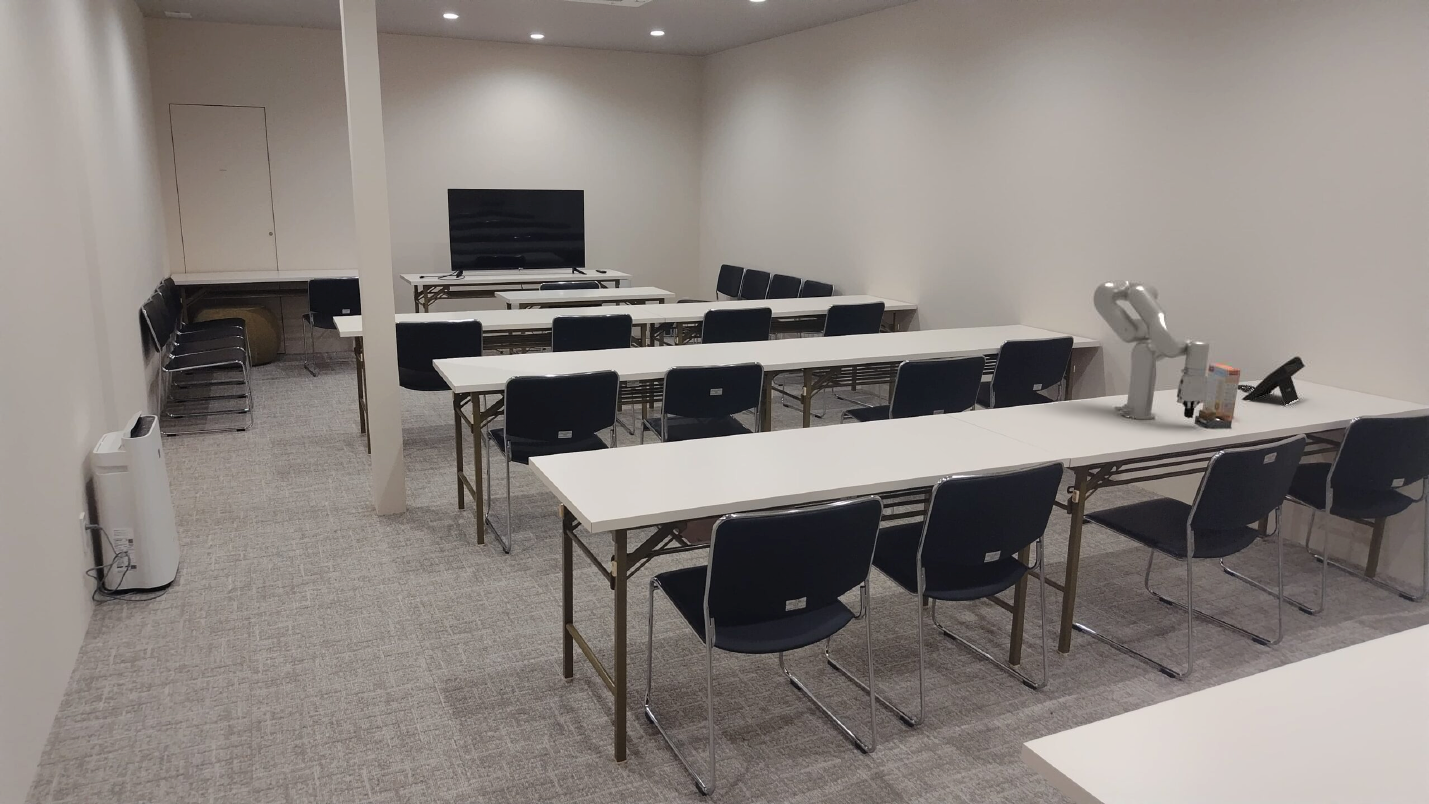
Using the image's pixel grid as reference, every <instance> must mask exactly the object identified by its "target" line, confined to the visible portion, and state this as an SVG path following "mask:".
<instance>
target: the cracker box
mask: <svg viewBox="0 0 1429 804" xmlns="http://www.w3.org/2000/svg"><path fill="white" fill-rule="evenodd" d="M1241 371H1242V370H1241V369H1239V368H1236V367H1232V366H1230V365H1227V364H1224V363H1215V362H1214V363H1212V362H1211V363H1209V365H1208V373H1207V380H1208V391H1207V399H1206V400H1205V401H1204V403H1202V409H1201V410H1208V409H1209V410H1211V411H1214V412H1216V414H1217V411H1221V412H1224V413H1226V414H1229V415H1232V416H1233V418H1232V420H1233V419H1234V413H1235V407H1236V402H1237V401H1236V400H1237V396H1238V395H1237V394H1238V390H1239V389H1238V385H1239V383H1240V377H1241Z"/></svg>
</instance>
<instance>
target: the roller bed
mask: <svg viewBox="0 0 1429 804" xmlns="http://www.w3.org/2000/svg"><path fill="white" fill-rule="evenodd" d="M1198 416H1199V415H1195V417H1194V424H1196V425H1198V426H1200V425H1201V426H1200V427H1202V426H1203V428H1205V429H1207V428H1210V429H1231V428H1232V425H1233V424H1232V423H1233V419H1234V415H1233V416H1232V415H1229V414H1226V413H1224V412H1221V411H1217V414H1216V417H1215V420H1205V419H1202V418H1200V417H1198ZM1232 418H1233V419H1232Z"/></svg>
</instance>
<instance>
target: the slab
mask: <svg viewBox="0 0 1429 804" xmlns="http://www.w3.org/2000/svg"><path fill="white" fill-rule="evenodd" d="M1197 416H1198V417H1200V418H1202V419H1205V420H1215V417H1216V412H1214V411H1211V410H1209V409H1208V410H1202V409H1199V411H1198V415H1197Z"/></svg>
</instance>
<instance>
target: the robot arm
mask: <svg viewBox="0 0 1429 804" xmlns="http://www.w3.org/2000/svg"><path fill="white" fill-rule="evenodd" d="M1158 292H1159V291H1158V289H1157V288H1156V287H1155V286H1154V285H1152V284H1150V283H1144V282H1143V283H1142V282H1138V281H1132V280H1131V281H1130V280H1124V279H1118V280H1108V281H1105V282H1101V283H1100V284H1099V285H1098V286H1097V288H1096V289H1095V290H1094V294H1093V297H1092V298H1093V300H1092V301H1093V305H1094V307H1095V311H1097V313H1098V314H1099V315H1100V316H1101V317H1102V319H1103V320H1104V321H1105V322H1106V323H1107V324H1108V326H1109V327H1110V328H1111V330H1112V331H1113V333H1115V334H1116V336H1117V337H1118V338H1119V340H1121V341H1122V342H1123V343H1125V344H1134V343H1135V345H1134V346H1133V347H1132V349H1131V354H1130V361H1131V362H1130V363H1131V365H1130V376H1129V378H1130V379H1129V383H1128V385H1129V386H1128V392H1127V393H1128V394H1127V401H1126V403H1124V405H1122V406H1118V405H1117V406H1115V407H1114V410H1115V411H1116V412H1121V415H1122V414H1123V415H1125V416H1124V417H1126V416H1129V417H1134V418H1136V419H1135V420H1144V419H1148V420H1153V419H1155V417H1156V414H1155V413H1153V411H1152V409H1153V404H1154V403H1153V402H1154V395H1155V387H1156V381H1157V362H1160V361H1163V360H1164V359H1165V358H1168V359H1174V358H1178V357H1185V361H1184V366H1183V367H1184V368H1183V369H1182V368H1181V373H1183V374H1181V376H1180V378H1179V379H1180V380H1179V383H1178V386H1177V387H1178V388H1177V392H1176V398H1177V400H1176V402H1177V403H1178V404H1182V406H1183V407H1184V411H1183V416H1184V417H1185V418H1187V419H1193V418H1194V414H1195V409H1196V408H1197V406H1198V405H1200V404H1203V403H1204V401H1205V400H1206V399H1207V391H1208V380H1207V377H1208V375H1206V372H1207V365H1208V359H1209V357H1208V356H1209V352H1210V343H1209V342H1208V341H1206V340H1201V339H1197V340H1195V339H1191V338H1187V337H1184V336H1180V337H1179V336H1178V337H1173V335H1172V334H1171V333H1170V331H1169V330H1168V329H1167V328H1168V327H1167V326H1166V322H1165V321H1166V316H1167V313H1166V310H1165V309H1164V308H1163V307H1162V305H1161V304H1160V303H1159V302H1158V300H1157V299H1158V296H1159V293H1158ZM1118 301H1122V302H1123V301H1125V302H1128V303H1129V304H1130V305H1131V307H1132V308H1133V309H1134V311H1135V313H1137V315H1138V316H1139V317H1140V318H1135V319H1134V318H1133V317H1132V316H1131V315H1130V314H1129V313H1128V312H1127V311H1126V309H1125V308H1124V307H1122V306H1121V305H1120V304H1119V303H1118ZM1123 415H1122V416H1123ZM1129 417H1128V418H1129ZM1134 418H1133V419H1134Z"/></svg>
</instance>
